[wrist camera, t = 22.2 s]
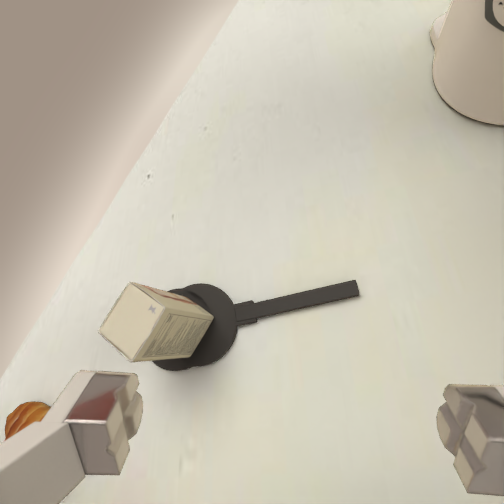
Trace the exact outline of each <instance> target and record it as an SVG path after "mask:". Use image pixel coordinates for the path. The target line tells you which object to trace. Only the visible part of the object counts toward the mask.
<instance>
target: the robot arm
mask: <svg viewBox="0 0 504 504" xmlns="http://www.w3.org/2000/svg"><path fill="white" fill-rule="evenodd" d="M430 37H431V40H432V43H433V45H434V48H435V56H434V61H433V67H432V74H433V80H434V84H435V86H436V89H437V91H438V92H439V94H440V95H441V97H442V98H443V99H444V100H445V101H446V103H447V104H449V105H450V106H451V107H452V108H453V109H455V110H456V111H458V112H459V113H461V114H463V115H465V116H467V117H469V118H472V119H475V120H478V121H481V122H485V123H490V124H497V125H504V0H452V1H451V4H450V6H449V9H448V11H447V12H445V13H444V14H442V15H441V16H439V17H438V18H436V19H435V21H434V22H433V24H432V27H431V29H430ZM138 386H139V381H138V376H137V374H135V373H123V372H107V371H85V370H80V371H79V372H77V373H76V374H75V375H74V376H73V377H72V379H71V380H70V382H69V383H68V384H67V386H66V387H65V389H64V390H63V391H62V393H61V394H60V395H59V397H58V398H57V400H56V401H55V402H54V404H53V405H52V407H51V408H50V409H49V411H48V412H47V413H46V415H45V416H44V418H43V419H42V420H41V422H33V423H32V424H30V425H29V426H27V427H25V428H24V429H22V430H21V431H19V432H18V433H16V434H15V435H13V436H11V437H10V438H8V439H7V440H5V441H4V442H2V443H0V504H59V503H60V502H61V501H62V500H63V499H64V498H65V497H66V496H67V495H68V494H69V493H70V492H71V491H72V490H73V489H74V488H75V487H76V486H77V485H78V484H79V483H80V482H81V481H82V480H83V479H84V478H85V475H120V473H121V470H122V468H123V465H124V463H125V461H126V458H127V456H128V453H129V451H130V447H129V442H128V440H129V439H131V438H132V437H133V436H134V435H135V434H136V433H137V431H138V428H139V426H140V423H141V418H142V413H143V401H142V396H141V395H140V394H139V393H138V392H137V391H136V390H137V388H138ZM443 396H444V398H445V400H446V403H444V404H443V405H442V406H441V407H439V409H438V413H437V417H436V418H437V429H438V432H439V436H440V439H441V441H442V443H443V445H444V447H445V448H446V449H447V450H448V451H450V452H451V453H452V454H453V455H454V456H455V460H454V464H453V465H454V467H455V469H456V471H457V473H458V475H459V477H460V479H461V481H462V483H463V485H464V487H465V489H466V491H467V493H471V494H483V495H496V496H504V385H489V386H488V385H464V384H449V385H448V386H447V387H446V388H445V390H444V393H443Z"/></svg>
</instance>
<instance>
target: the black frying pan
mask: <svg viewBox="0 0 504 504" xmlns="http://www.w3.org/2000/svg"><path fill="white" fill-rule="evenodd" d="M167 292H170V293H174V294H177V295H181V296H184V297H187V298H189V299H190V300H192V301H193V302H195V303H196V304H197V305H199V306H200V307H202V308H203V309H204V310H206V311H207V312H208V313H210V314H211V315H212V316H213V317H214V318H213V320H212V322H211V324H210V325H209V327H208V329H207V331H206V332H205V334H204V336H203V337H202V339H201V341H200V342H199V344H198V345H197V347H196V349H195V350H194V352H193V353H192V355H191V356H190V357H188V358H176V359H164V360H152V361H153V362H154V363H155V364H156V365H158V366H159V367H161V368H164V369H166V370H172V371H178V370H185V369H188V368H191V367H193V366H205V365H209V364H211V363H214V362H215V361H217V360H219V359H220V358H221V357H223V356H224V355H225V354H226V352H227V351H228V350H229V349H230V347H231V345H232V344H233V341H234V339H235V336H236V332H237V326H241V325H245V324H250V323H254V322H257V318H261V317H265V316H270V315H274V314H279V313H283V312H288V311H292V310H297V309H301V308H306V307H310V306H315V305H319V304H324V303H328V302H333V301H337V300H342V299H346V298H351V297H355V296H359V290H358V287H357V283H356V280H352V281H348V282H343V283H339V284H335V285H330V286H326V287H322V288H317V289H313V290H309V291H304V292H300V293H296V294H292V295H287V296H283V297H279V298H274V299H270V300H266V301H261V302H257V303H254V302H253V301H252V300H251V301H247V302H243V303H238V304H233V303H232V301H231V299H230V298H229V297H228V295H227V294H226V293H224V292H223V291H222V290H220V289H219V288H217V287H215V286H212V285H209V284H193V285H190V286H187V287H185V288H183V289H173V290H170V291H167Z"/></svg>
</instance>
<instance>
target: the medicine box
mask: <svg viewBox="0 0 504 504" xmlns="http://www.w3.org/2000/svg"><path fill="white" fill-rule="evenodd" d="M213 318H214V317H213V316H212V315H211V314H210V313H208V312H207V311H206V310H204V309H203V308H202V307H200V306H199V305H197V304H196V303H195V302H193V301H192V300H190V299H189V298H187V297H184V296H181V295H177V294H174V293H170V292H166V291H163V290H159V289H155V288H152V287H148V286H144V285H140V284H137V283H133V282H129V283H128V284H127V286H126V287H125V289H124V290H123V292H122V293H121V295H120V296H119V298H118V299H117V301H116V302H115V304H114V305H113V307H112V309H111V310H110V312H109V313H108V315H107V317H106V318H105V320H104V322H103V323H102V325H101V327H100V329H99V330H98V333H99V334H100V335H101V336H102V337H103V338H104V339H105V340H106V341H107V342H108V343H110V344H111V345H112V346H113V347H114V348H115V349H116V350H117V351H118V352H119V353H120V354H121V355H122V356H124V357H125V358H126V359H127V360H128V361H129V362H140V361H152V360H164V359H176V358H188V357H190V356H191V355H192V353H193V352H194V350H195V349H196V347H197V345H198V344H199V342H200V341H201V339H202V337H203V336H204V334H205V332H206V331H207V329H208V327H209V325H210V324H211V322H212V320H213Z"/></svg>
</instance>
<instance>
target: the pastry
mask: <svg viewBox="0 0 504 504" xmlns="http://www.w3.org/2000/svg"><path fill="white" fill-rule="evenodd" d="M50 408H51V407H50V406H48V405H46V404H44V403H42V402H26V403H24V404H21V405H19V406H18V407H17V408H16V409H15V410H14V411H13V412H12V413H11V414H9V415H8V417H7V420H6V425H5V437H6V439H5V440H7V439H8V438H10V437H11V436H13V435H15V434H16V433H18V432H19V431H21V430H22V429H24V428H25V427H27V426H29V425H30V424H32V423H33V422H41V420H42V419H43V418H44V416H45V415H46V413H47V412H48V411H49V409H50Z"/></svg>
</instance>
